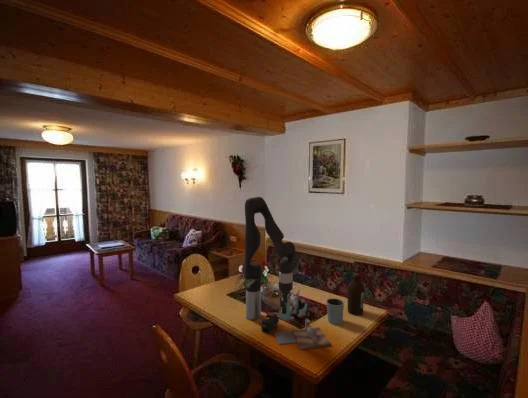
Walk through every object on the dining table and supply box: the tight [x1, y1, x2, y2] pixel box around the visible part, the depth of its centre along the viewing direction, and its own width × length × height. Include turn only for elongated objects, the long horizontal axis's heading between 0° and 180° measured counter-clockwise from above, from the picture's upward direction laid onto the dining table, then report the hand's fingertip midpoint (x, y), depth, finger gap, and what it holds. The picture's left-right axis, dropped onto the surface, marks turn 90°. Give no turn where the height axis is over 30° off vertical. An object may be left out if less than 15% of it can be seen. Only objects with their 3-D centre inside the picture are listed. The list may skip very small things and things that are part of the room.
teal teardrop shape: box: [277, 299, 295, 321], centre depth 149 cm, size 9×5×11 cm, turn 71°
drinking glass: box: [325, 297, 345, 326], centre depth 169 cm, size 10×10×12 cm
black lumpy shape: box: [260, 313, 280, 334], centre depth 160 cm, size 10×7×7 cm
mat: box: [273, 330, 298, 346], centre depth 151 cm, size 10×10×1 cm
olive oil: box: [346, 272, 366, 316], centre depth 179 cm, size 11×11×25 cm
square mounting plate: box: [291, 318, 332, 350], centre depth 150 cm, size 16×16×8 cm
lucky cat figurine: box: [290, 293, 310, 319], centre depth 177 cm, size 15×12×14 cm
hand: (285, 311), depth 149 cm, fingers closed on teal teardrop shape, 4 cm apart
